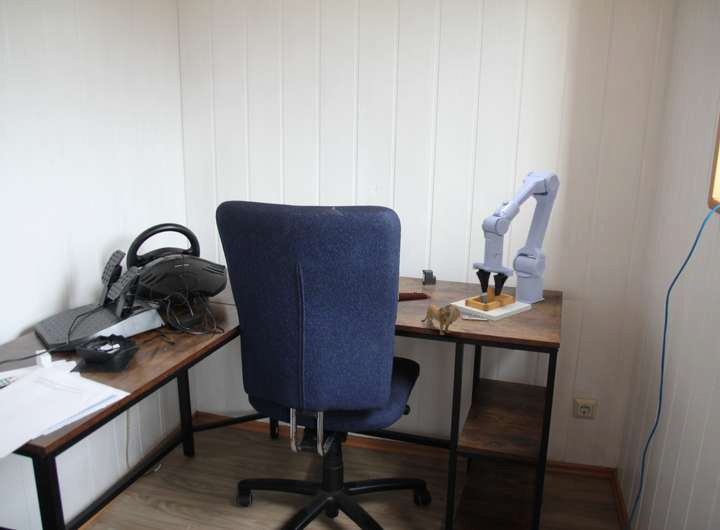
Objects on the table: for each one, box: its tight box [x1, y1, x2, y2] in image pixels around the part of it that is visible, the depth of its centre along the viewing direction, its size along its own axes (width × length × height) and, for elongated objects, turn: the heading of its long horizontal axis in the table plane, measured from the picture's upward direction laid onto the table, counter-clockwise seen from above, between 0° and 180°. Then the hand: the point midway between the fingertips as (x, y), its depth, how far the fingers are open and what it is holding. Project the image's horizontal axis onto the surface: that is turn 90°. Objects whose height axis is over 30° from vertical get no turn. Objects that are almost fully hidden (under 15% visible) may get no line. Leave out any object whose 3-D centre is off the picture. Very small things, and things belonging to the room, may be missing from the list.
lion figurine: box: [420, 304, 463, 336], centre depth 155 cm, size 15×5×9 cm, turn 37°
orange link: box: [464, 286, 516, 312], centre depth 176 cm, size 16×8×6 cm, turn 131°
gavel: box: [398, 292, 432, 301], centre depth 186 cm, size 21×5×10 cm
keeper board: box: [449, 293, 532, 322], centre depth 176 cm, size 20×18×5 cm
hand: (491, 293), depth 176 cm, fingers open, 4 cm apart
